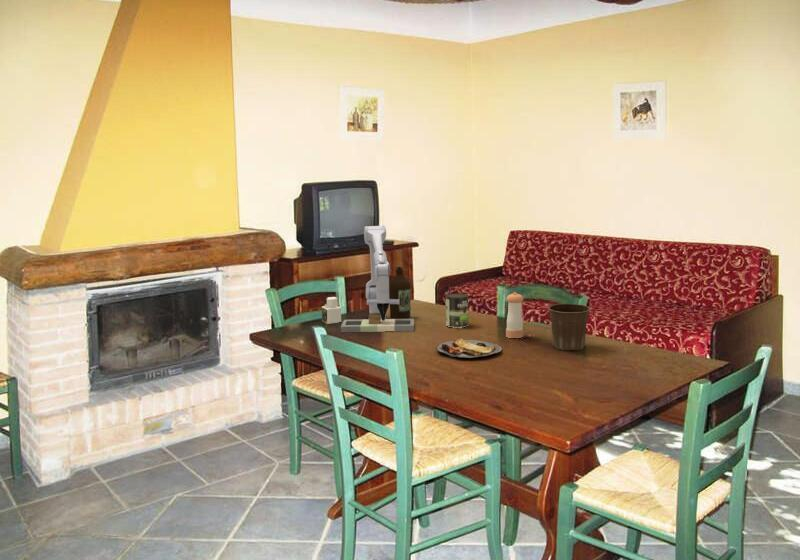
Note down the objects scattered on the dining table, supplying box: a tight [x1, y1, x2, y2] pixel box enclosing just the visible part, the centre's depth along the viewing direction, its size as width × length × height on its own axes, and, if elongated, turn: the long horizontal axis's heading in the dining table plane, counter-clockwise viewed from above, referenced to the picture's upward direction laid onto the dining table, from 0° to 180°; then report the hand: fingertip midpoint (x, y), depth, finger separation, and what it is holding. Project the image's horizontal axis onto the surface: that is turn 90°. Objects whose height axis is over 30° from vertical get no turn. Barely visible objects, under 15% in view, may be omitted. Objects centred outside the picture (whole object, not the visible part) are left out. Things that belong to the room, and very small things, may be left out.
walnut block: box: [368, 313, 381, 324], centre depth 337 cm, size 5×5×4 cm
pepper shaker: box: [505, 291, 524, 339], centre depth 316 cm, size 7×7×19 cm
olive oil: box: [389, 265, 412, 319], centre depth 355 cm, size 11×11×25 cm
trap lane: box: [340, 318, 415, 333], centre depth 338 cm, size 14×32×2 cm, turn 89°
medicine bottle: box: [321, 295, 342, 325], centre depth 352 cm, size 7×7×12 cm
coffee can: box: [445, 292, 469, 329], centre depth 338 cm, size 10×10×14 cm
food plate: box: [435, 337, 502, 359], centre depth 295 cm, size 25×23×4 cm
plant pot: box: [547, 303, 591, 351], centre depth 298 cm, size 16×16×16 cm
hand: (383, 320), depth 338 cm, fingers closed
